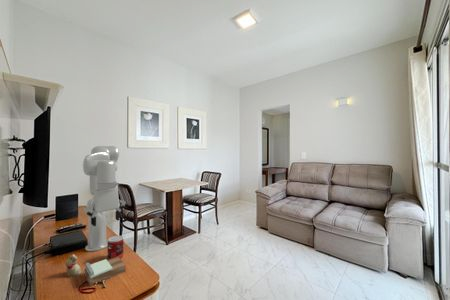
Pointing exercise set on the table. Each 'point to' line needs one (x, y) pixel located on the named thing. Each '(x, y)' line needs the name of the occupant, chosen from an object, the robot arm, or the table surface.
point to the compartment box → (116, 269)
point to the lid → (98, 268)
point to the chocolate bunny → (73, 267)
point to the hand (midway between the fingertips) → (106, 222)
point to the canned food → (115, 247)
